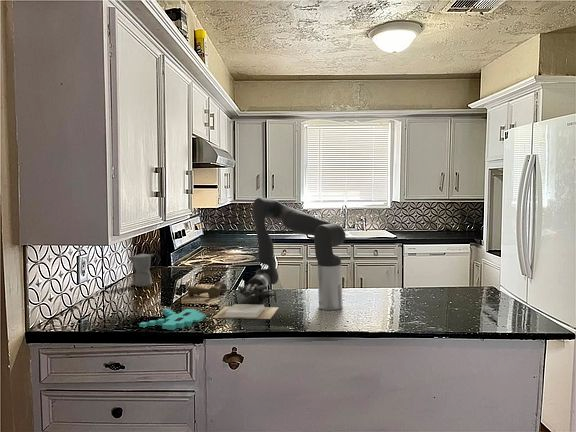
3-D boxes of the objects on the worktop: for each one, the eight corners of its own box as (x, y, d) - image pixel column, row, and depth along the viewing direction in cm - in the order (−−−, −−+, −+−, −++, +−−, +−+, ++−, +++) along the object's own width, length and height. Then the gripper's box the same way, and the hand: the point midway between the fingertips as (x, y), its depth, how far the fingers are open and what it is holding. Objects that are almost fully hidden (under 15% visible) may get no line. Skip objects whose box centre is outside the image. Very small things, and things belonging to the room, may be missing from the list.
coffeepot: (130, 288, 230) (128, 252, 228) (129, 284, 238) (127, 250, 237) (162, 284, 235) (160, 249, 234) (159, 281, 244) (158, 247, 243)
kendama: (194, 294, 214) (234, 294, 210) (185, 300, 205) (227, 300, 200) (193, 281, 214) (233, 281, 209) (184, 287, 204) (226, 286, 200)
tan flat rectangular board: (278, 309, 181) (278, 307, 181) (270, 321, 166) (270, 318, 166) (225, 308, 185) (225, 306, 185) (212, 320, 170) (212, 317, 170)
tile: (264, 304, 178) (257, 312, 167) (264, 309, 178) (257, 318, 168) (234, 304, 180) (225, 312, 170) (234, 309, 181) (225, 317, 170)
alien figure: (139, 330, 163) (192, 331, 159) (139, 323, 163) (191, 325, 159) (165, 313, 183) (212, 315, 179) (165, 308, 183) (212, 309, 179)
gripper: (242, 275, 194) (229, 285, 177) (272, 276, 192) (263, 285, 175) (243, 293, 195) (230, 304, 178) (273, 293, 192) (263, 304, 175)
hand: (246, 295), depth 176 cm, fingers closed
